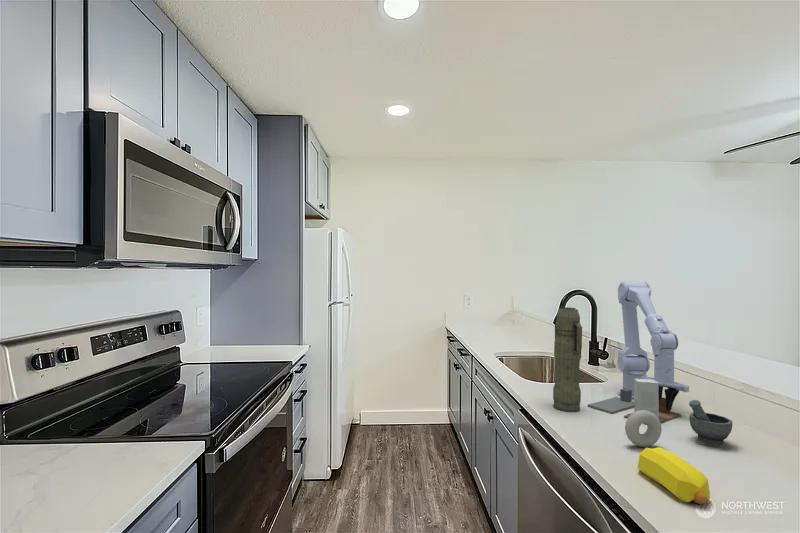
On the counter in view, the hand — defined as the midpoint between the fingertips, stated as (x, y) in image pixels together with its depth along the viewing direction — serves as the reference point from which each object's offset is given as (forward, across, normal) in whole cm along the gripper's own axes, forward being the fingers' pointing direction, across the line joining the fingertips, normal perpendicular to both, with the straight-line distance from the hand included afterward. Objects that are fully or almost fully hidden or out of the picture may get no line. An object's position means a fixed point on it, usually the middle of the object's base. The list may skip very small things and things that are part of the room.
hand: (663, 408), depth 142 cm
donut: (+2, +11, -34) cm, 36 cm away
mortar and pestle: (+2, +19, -16) cm, 25 cm away
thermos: (+2, -21, -24) cm, 32 cm away
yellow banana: (+2, +26, -50) cm, 57 cm away
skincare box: (+1, 0, -12) cm, 12 cm away
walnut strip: (+2, 0, -7) cm, 8 cm away
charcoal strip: (+2, -13, -8) cm, 15 cm away
